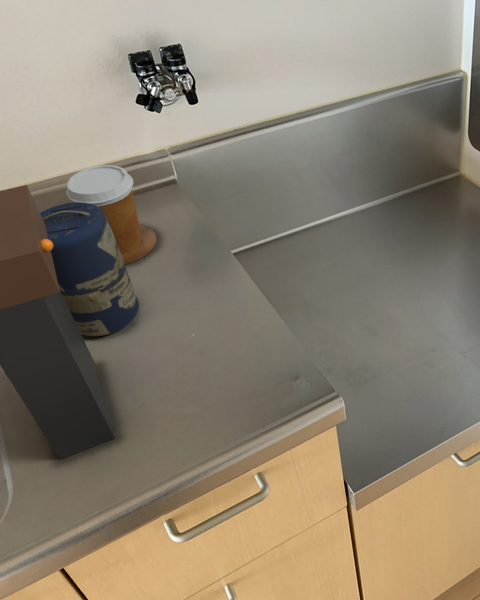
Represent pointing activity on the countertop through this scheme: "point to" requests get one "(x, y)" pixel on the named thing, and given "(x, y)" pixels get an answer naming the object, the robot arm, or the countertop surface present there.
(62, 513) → the countertop surface
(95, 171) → the disposable coffee cup
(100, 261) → the canister
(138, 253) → the cork coaster
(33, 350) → the wood-topped grey pedestal
